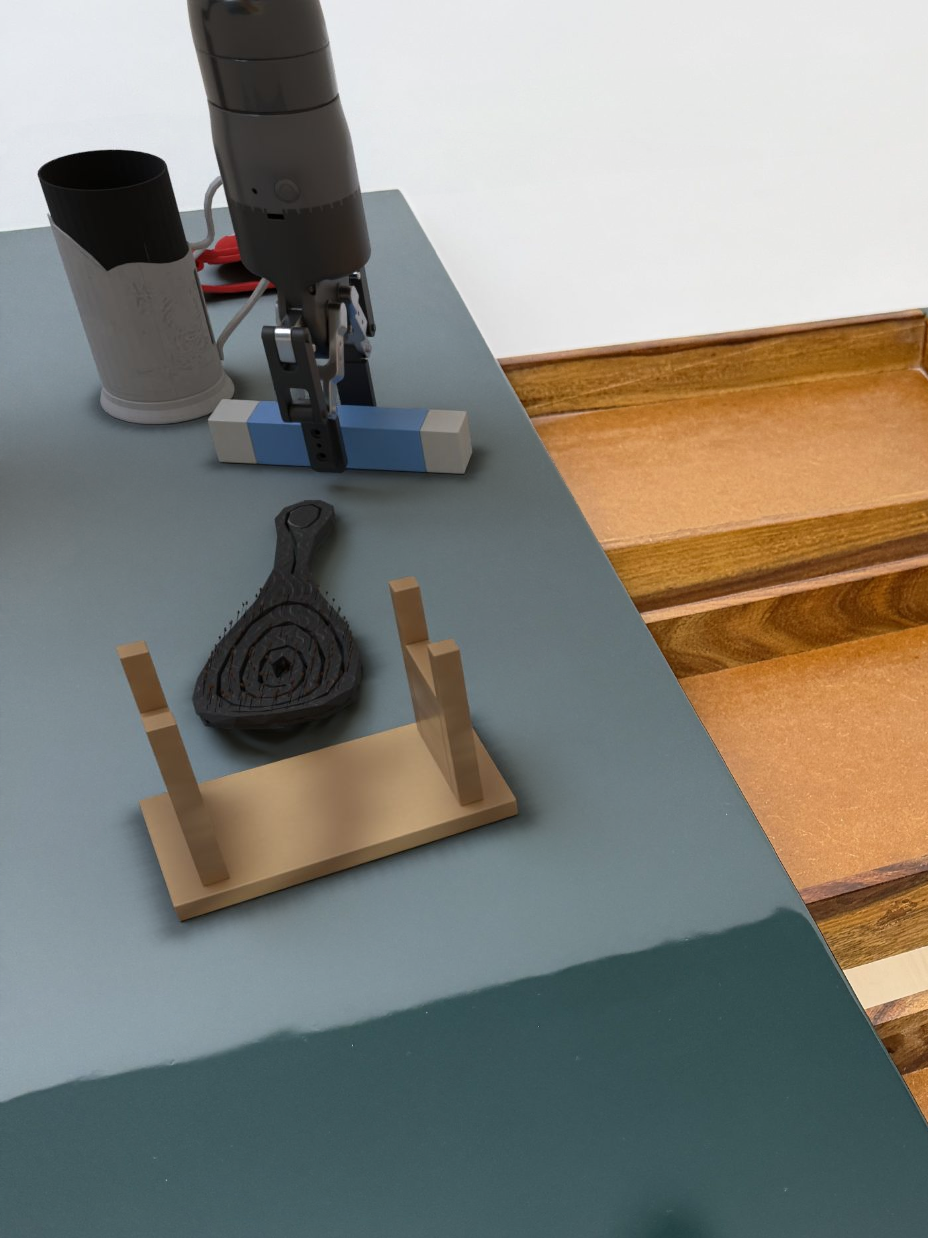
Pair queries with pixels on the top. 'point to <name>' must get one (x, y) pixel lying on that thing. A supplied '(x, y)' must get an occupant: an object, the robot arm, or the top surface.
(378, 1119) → the top surface
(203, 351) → the glass holder
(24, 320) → the top surface
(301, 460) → the handle
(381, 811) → the holder
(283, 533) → the hairbrush
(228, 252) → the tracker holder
